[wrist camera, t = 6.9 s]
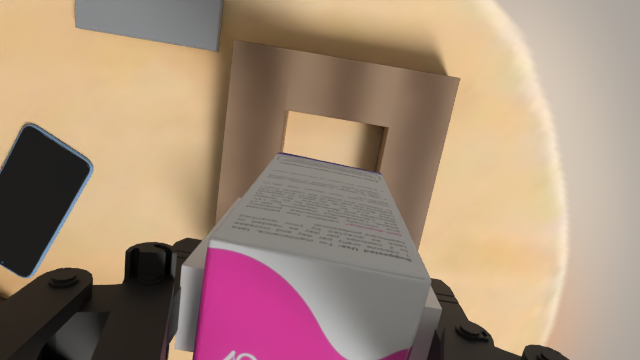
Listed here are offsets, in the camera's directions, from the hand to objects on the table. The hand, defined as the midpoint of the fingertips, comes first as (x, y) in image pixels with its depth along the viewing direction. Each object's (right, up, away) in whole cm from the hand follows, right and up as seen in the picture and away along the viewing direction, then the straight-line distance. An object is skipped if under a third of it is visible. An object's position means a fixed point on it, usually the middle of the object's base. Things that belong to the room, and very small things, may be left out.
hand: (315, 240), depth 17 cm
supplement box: (0, +1, +4) cm, 4 cm away
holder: (+1, +4, +18) cm, 19 cm away
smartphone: (-28, 0, +21) cm, 35 cm away
